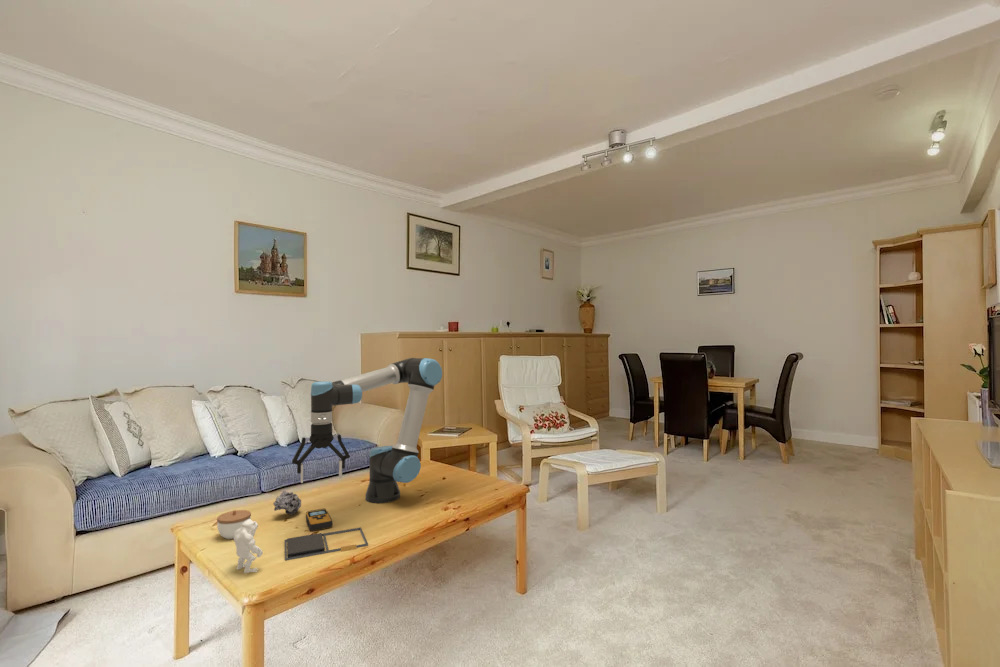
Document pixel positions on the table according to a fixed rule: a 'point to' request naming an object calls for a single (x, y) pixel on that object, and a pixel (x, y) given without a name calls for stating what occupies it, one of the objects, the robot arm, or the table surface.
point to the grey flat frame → (315, 545)
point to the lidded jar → (231, 522)
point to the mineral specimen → (287, 502)
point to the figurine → (246, 545)
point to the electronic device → (318, 519)
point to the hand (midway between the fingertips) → (321, 479)
